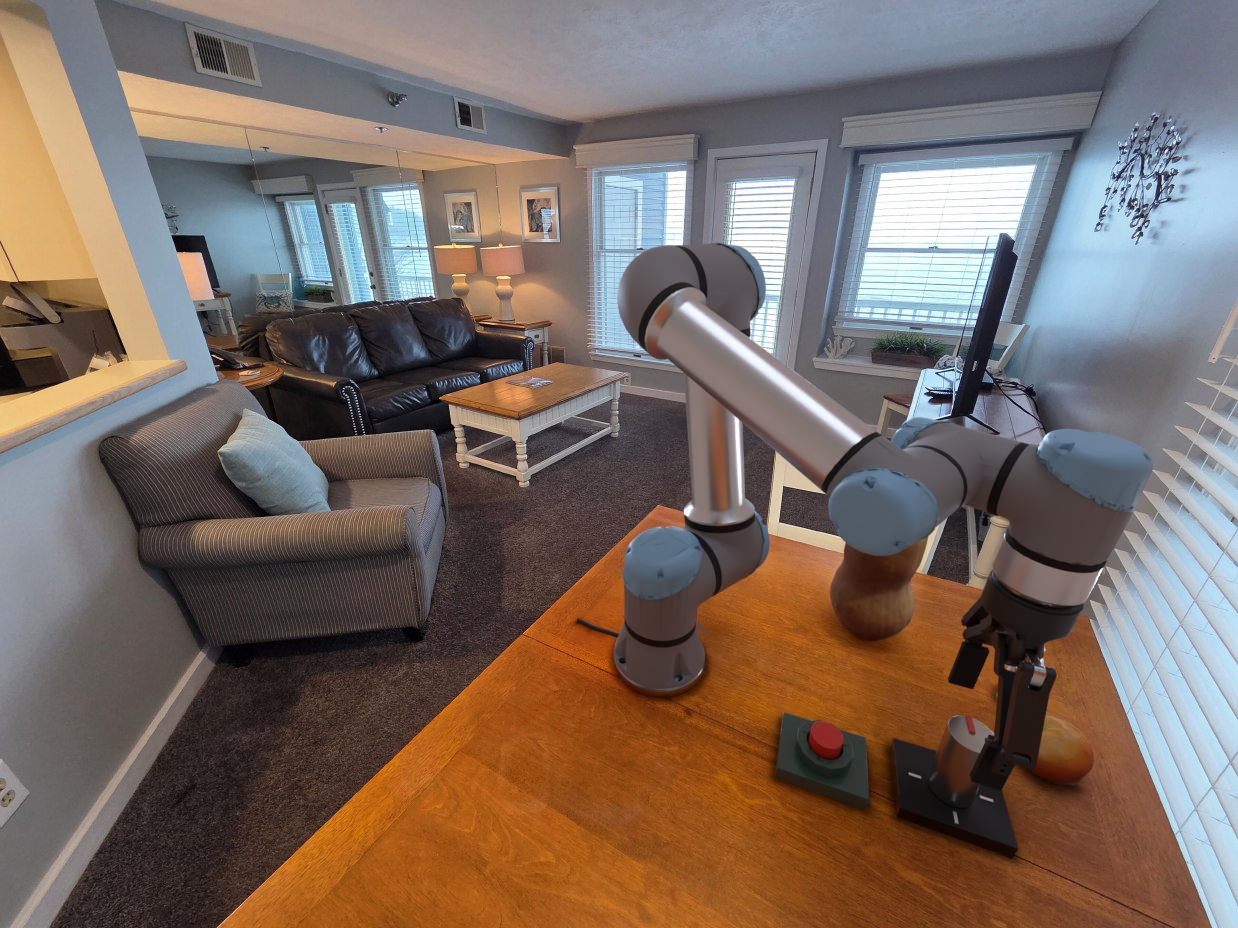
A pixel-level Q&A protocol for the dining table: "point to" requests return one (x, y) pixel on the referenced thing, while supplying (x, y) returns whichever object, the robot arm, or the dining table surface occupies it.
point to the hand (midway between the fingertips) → (971, 728)
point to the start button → (825, 740)
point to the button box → (823, 763)
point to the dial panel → (921, 806)
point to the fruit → (1063, 753)
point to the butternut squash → (876, 591)
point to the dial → (957, 761)
